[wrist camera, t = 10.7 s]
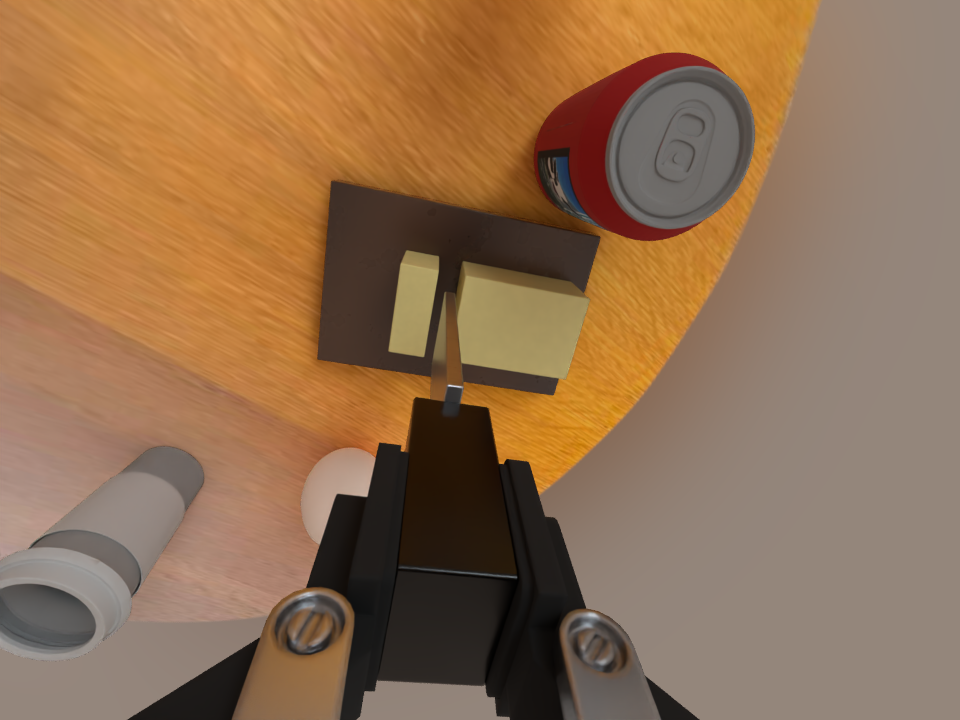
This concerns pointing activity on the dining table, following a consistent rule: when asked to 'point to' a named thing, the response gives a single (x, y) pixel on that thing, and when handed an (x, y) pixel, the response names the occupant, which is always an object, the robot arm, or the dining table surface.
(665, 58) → the beverage can
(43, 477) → the dining table surface
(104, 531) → the cup
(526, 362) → the butter block
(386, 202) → the board
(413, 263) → the butter slice
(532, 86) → the dining table surface
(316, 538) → the egg
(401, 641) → the knife
